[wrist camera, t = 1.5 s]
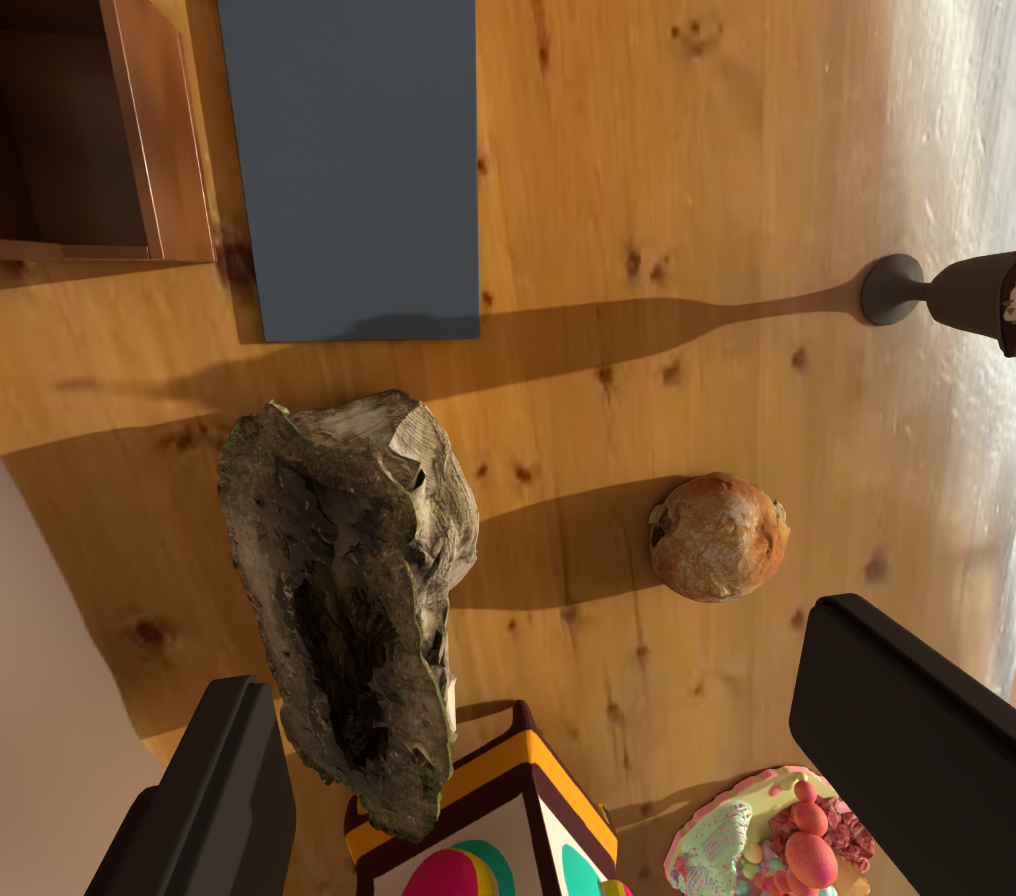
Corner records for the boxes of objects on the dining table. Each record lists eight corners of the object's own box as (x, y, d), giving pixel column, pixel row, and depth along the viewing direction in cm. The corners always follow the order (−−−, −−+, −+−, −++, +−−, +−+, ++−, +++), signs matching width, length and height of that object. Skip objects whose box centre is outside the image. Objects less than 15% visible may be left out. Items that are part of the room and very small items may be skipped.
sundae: (927, 224, 37) (1243, 195, 23) (936, 314, 39) (1227, 338, 25) (843, 263, 37) (1109, 258, 23) (857, 351, 39) (1105, 396, 25)
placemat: (208, -76, 25) (204, -81, 25) (474, -48, 28) (474, -52, 27) (266, 340, 32) (264, 341, 32) (478, 337, 34) (479, 338, 34)
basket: (-23, 16, 25) (-467, -242, 12) (181, 31, 27) (-32, -187, 14) (42, 261, 29) (-253, 255, 16) (218, 263, 30) (76, 258, 17)
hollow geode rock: (399, 670, 47) (541, 766, 38) (263, 775, 37) (414, 933, 29) (386, 357, 37) (571, 395, 29) (197, 387, 27) (395, 458, 19)
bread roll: (657, 452, 43) (657, 486, 35) (794, 471, 40) (824, 512, 33) (640, 558, 46) (636, 610, 39) (766, 583, 44) (787, 643, 36)
